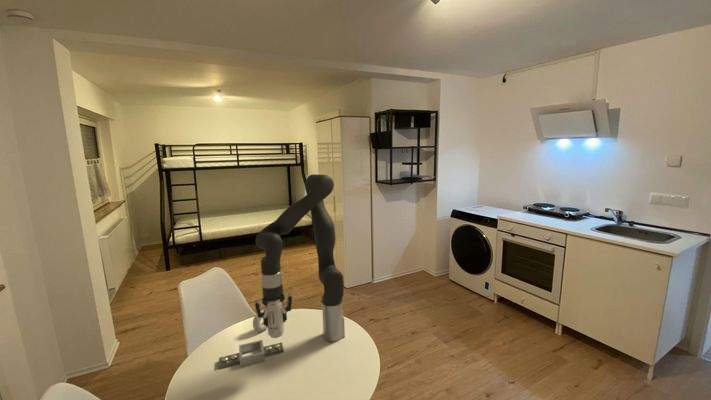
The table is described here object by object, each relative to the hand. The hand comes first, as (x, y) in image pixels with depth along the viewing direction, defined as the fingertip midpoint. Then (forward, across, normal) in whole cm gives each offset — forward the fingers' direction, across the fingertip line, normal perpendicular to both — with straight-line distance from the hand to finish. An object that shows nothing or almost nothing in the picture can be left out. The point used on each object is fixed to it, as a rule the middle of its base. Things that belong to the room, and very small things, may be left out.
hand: (275, 323), depth 119 cm
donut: (+20, +3, -29) cm, 36 cm away
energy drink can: (+5, 0, 0) cm, 5 cm away
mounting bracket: (+19, +10, -11) cm, 24 cm away
